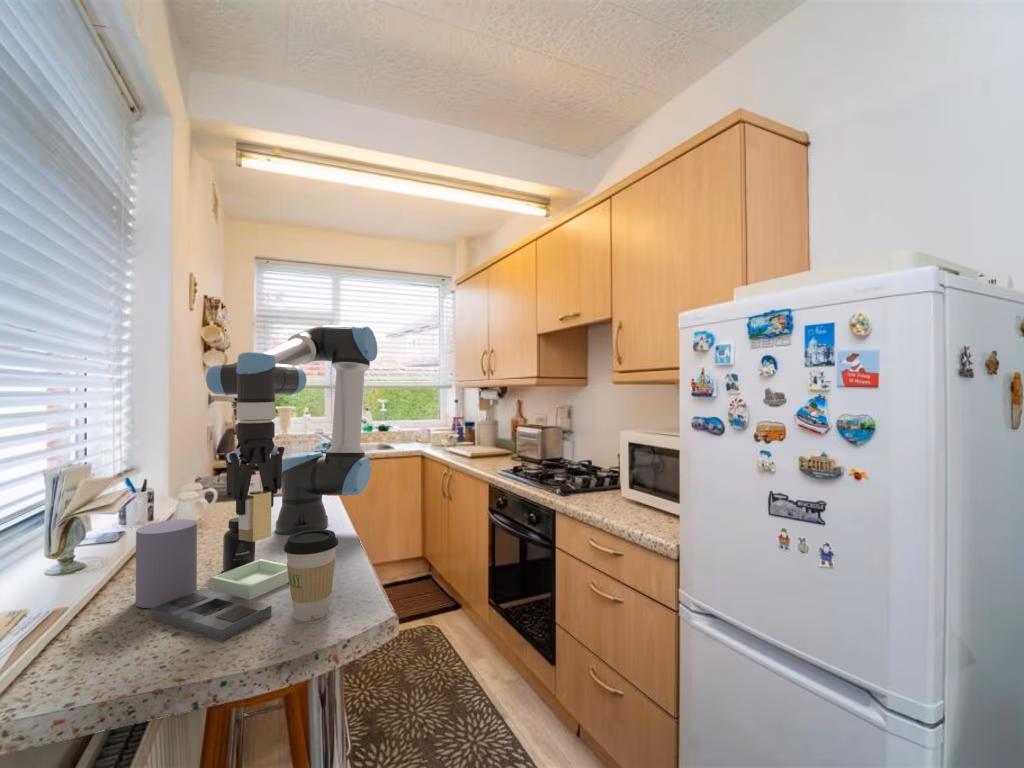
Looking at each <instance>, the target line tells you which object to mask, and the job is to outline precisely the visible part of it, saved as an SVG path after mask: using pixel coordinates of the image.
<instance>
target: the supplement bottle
mask: <svg viewBox="0 0 1024 768" xmlns="http://www.w3.org/2000/svg"><path fill="white" fill-rule="evenodd" d="M227 525H228V526H227V527H228V530H227V531H225V533H224V534H223V540H222V571H223V573H224V572H227V571H230V570H232V569H235V568H238V567H240V566H243V565H246V564H248V563H251V562H254V561H256V541H255V542H250V541H244V540H239V516H238V517H234V518H230V519H229V520H228V524H227Z"/></svg>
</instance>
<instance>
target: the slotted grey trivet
mask: <svg viewBox="0 0 1024 768" xmlns="http://www.w3.org/2000/svg"><path fill="white" fill-rule="evenodd" d="M216 609H217V610H218V611H216V612H214V613H211V614H209V615H204V614H207V613H209V612H211V611H213V610H216ZM220 609H221V610H220ZM272 610H273V607H272V604H268V603H264V602H260V601H256V600H253V599H251V600H249V599H245V598H241V597H237V596H233V595H229V594H225V593H221V592H217V591H213V590H211V589H209V588H204V587H203V588H199V589H198V590H197V591H195V592H192V593H189V594H187V595H184V596H182V597H179V598H177V599H174V600H172V601H169V602H166V603H164V604H161V605H159V606H156V607H154V608H151V609H150V620H152V621H156V622H158V623H162V624H165V625H168V626H171V627H175V628H177V629H180V630H184V631H187V632H189V633H193V634H196V635H200V636H203V637H206V638H209V639H213V640H216V641H219V642H224V641H225V640H227V639H229V638H231V637H233V636H235V635H237V634H239V633H241V632H243V631H245V630H247V629H249V628H251V627H252V626H255V625H256V624H258V623H259V624H260V622H262V621H264V620H267V619H268V618H270V617H272V614H273V612H272Z"/></svg>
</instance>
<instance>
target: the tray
mask: <svg viewBox="0 0 1024 768" xmlns="http://www.w3.org/2000/svg"><path fill="white" fill-rule="evenodd" d="M210 581H211V582H210V587H211V588H210V590H213V591H217V592H221V593H225V594H229V595H233V596H237V597H241V598H245V599H249V600H253V599H256V598H258V597H260V596H262V595H264V594H266V593H268V592H271V591H274V590H275V589H277V588H279V587H281V586H284V585H286V584H288V583H289V578H288V569H287V563H281V562H276V561H274V560H267V559H262V558H259V559H257V560H256V559H255V561H254V562H251V563H248V564H246V565H243V566H240V567H238V568H235V569H232V570H230V571H227V572H224V571H223V573H219V574H216V575H213V576H211V579H210Z"/></svg>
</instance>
